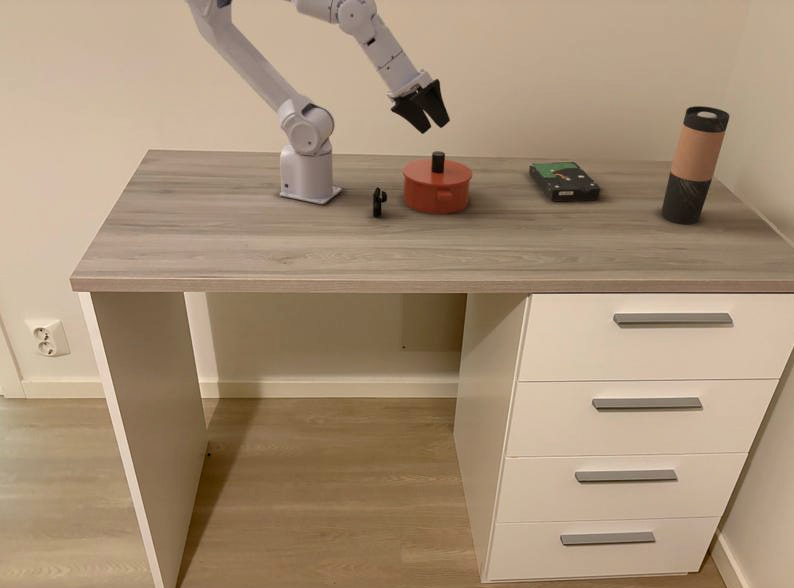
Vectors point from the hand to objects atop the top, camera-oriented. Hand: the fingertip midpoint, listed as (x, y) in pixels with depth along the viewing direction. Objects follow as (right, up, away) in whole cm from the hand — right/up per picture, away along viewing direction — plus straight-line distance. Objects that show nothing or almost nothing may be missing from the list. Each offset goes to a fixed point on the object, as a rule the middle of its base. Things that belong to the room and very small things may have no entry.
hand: (436, 127), depth 128 cm
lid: (0, -6, +8) cm, 10 cm away
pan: (0, -11, +11) cm, 16 cm away
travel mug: (+47, -14, +12) cm, 51 cm away
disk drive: (+26, -6, +21) cm, 34 cm away
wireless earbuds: (-10, -15, +5) cm, 19 cm away
